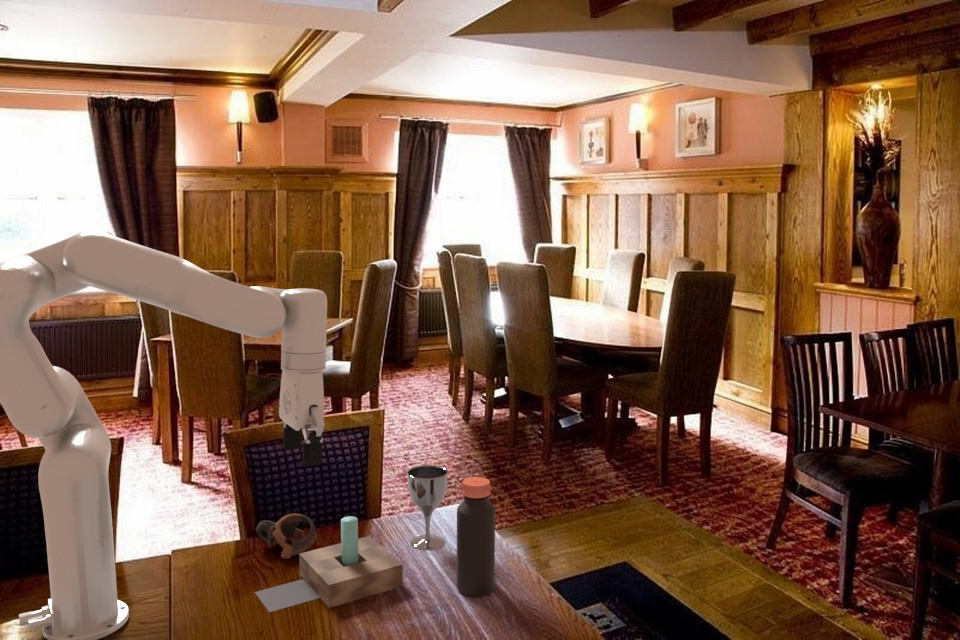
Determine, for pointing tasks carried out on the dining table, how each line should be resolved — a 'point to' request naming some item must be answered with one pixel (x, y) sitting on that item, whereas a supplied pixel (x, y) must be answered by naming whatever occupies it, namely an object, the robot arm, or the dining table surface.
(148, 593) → the dining table surface
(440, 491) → the wine glass
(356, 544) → the peg
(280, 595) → the mat
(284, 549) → the brown hollow rounded piece
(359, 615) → the dining table surface
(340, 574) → the hole block
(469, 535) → the bottle
